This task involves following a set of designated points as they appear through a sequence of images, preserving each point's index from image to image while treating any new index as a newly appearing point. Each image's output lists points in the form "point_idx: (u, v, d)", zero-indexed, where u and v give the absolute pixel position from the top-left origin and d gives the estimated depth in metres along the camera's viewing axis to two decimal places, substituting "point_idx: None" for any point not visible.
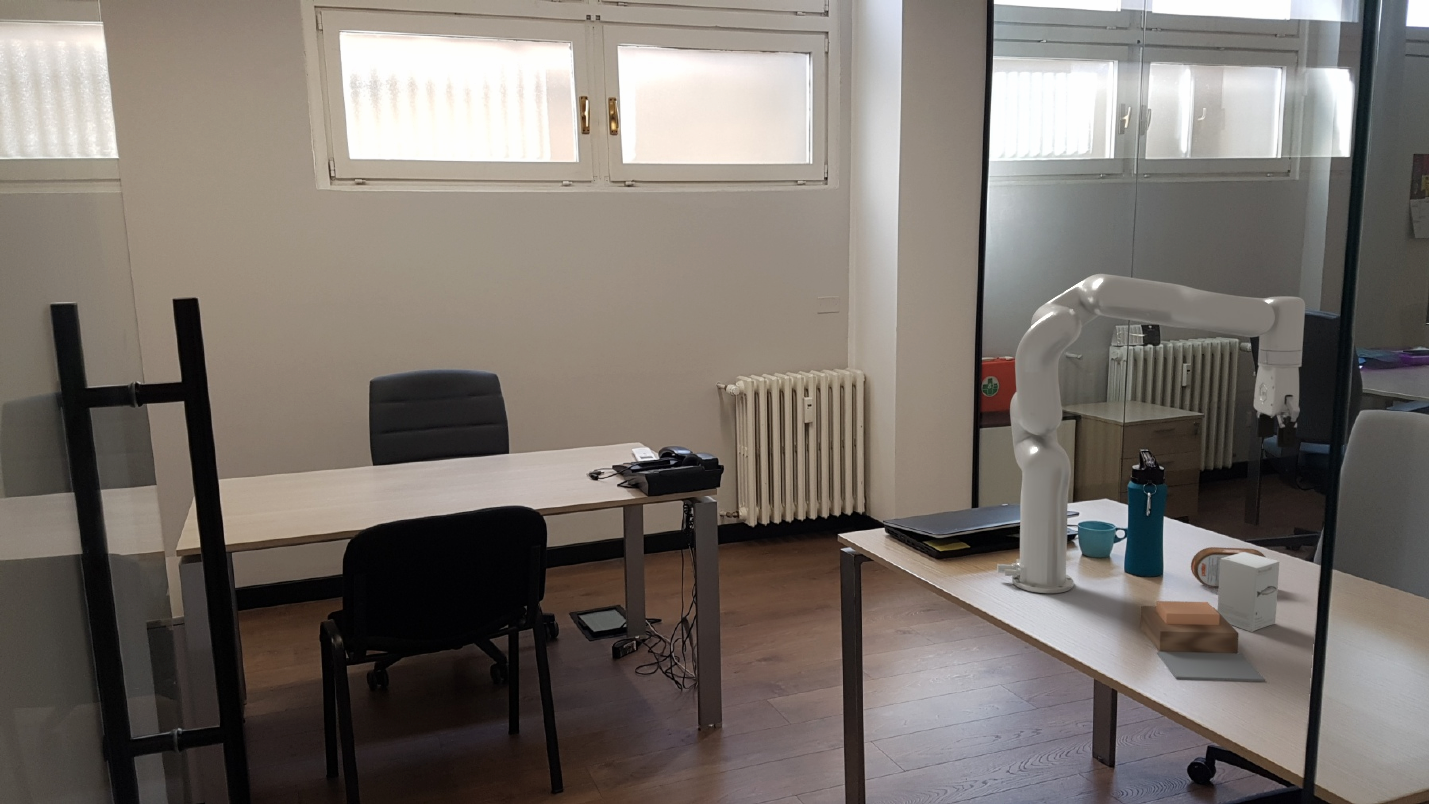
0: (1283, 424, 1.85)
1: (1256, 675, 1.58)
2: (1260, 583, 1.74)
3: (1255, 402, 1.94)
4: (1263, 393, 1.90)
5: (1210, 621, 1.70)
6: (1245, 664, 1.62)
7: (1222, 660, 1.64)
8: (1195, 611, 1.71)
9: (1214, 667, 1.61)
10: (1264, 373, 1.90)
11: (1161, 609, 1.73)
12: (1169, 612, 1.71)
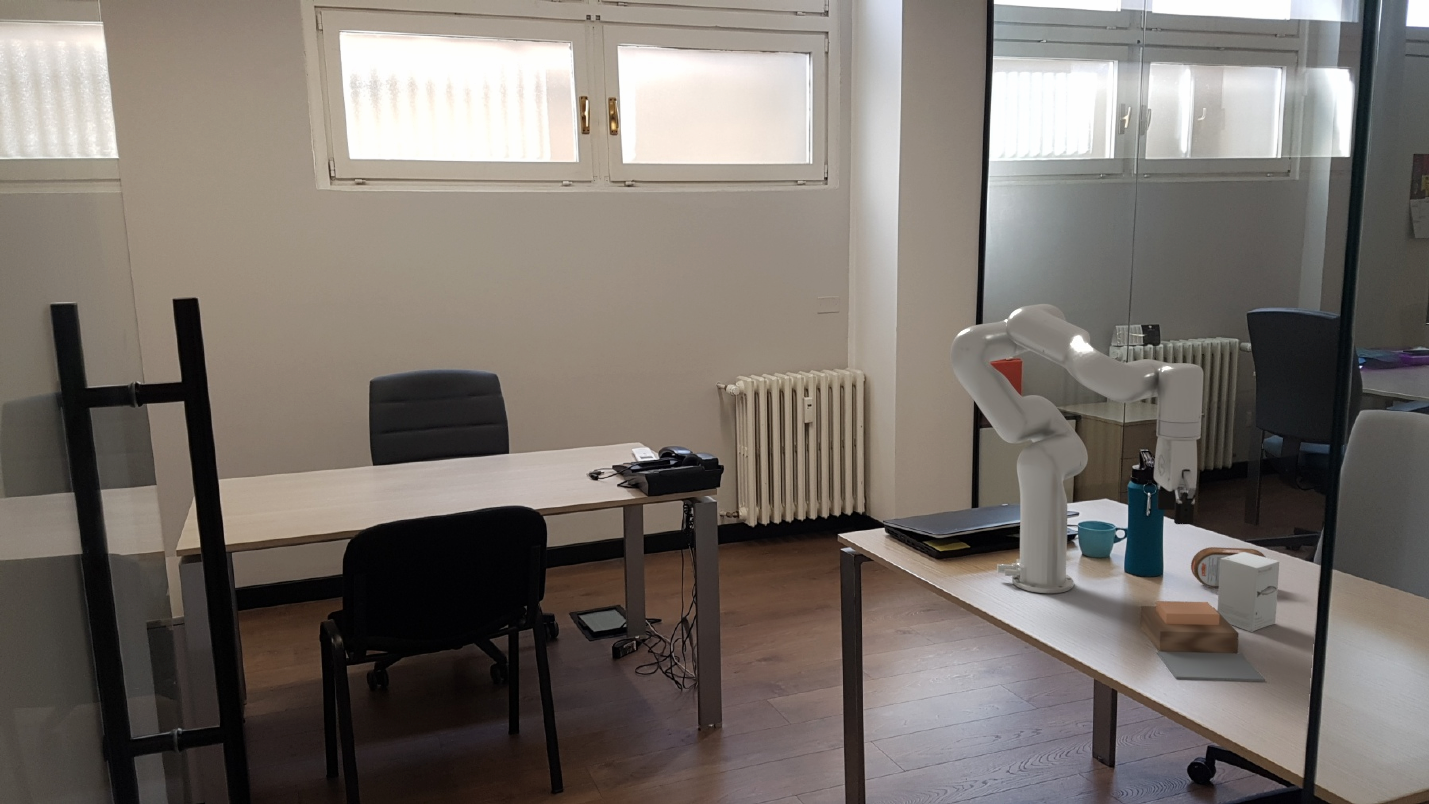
0: (1180, 500, 1.74)
1: (1256, 675, 1.58)
2: (1260, 583, 1.74)
3: (1155, 473, 1.83)
4: (1161, 465, 1.79)
5: (1210, 621, 1.70)
6: (1245, 664, 1.62)
7: (1222, 660, 1.64)
8: (1195, 611, 1.71)
9: (1214, 667, 1.61)
10: (1162, 445, 1.79)
11: (1161, 609, 1.73)
12: (1169, 612, 1.71)
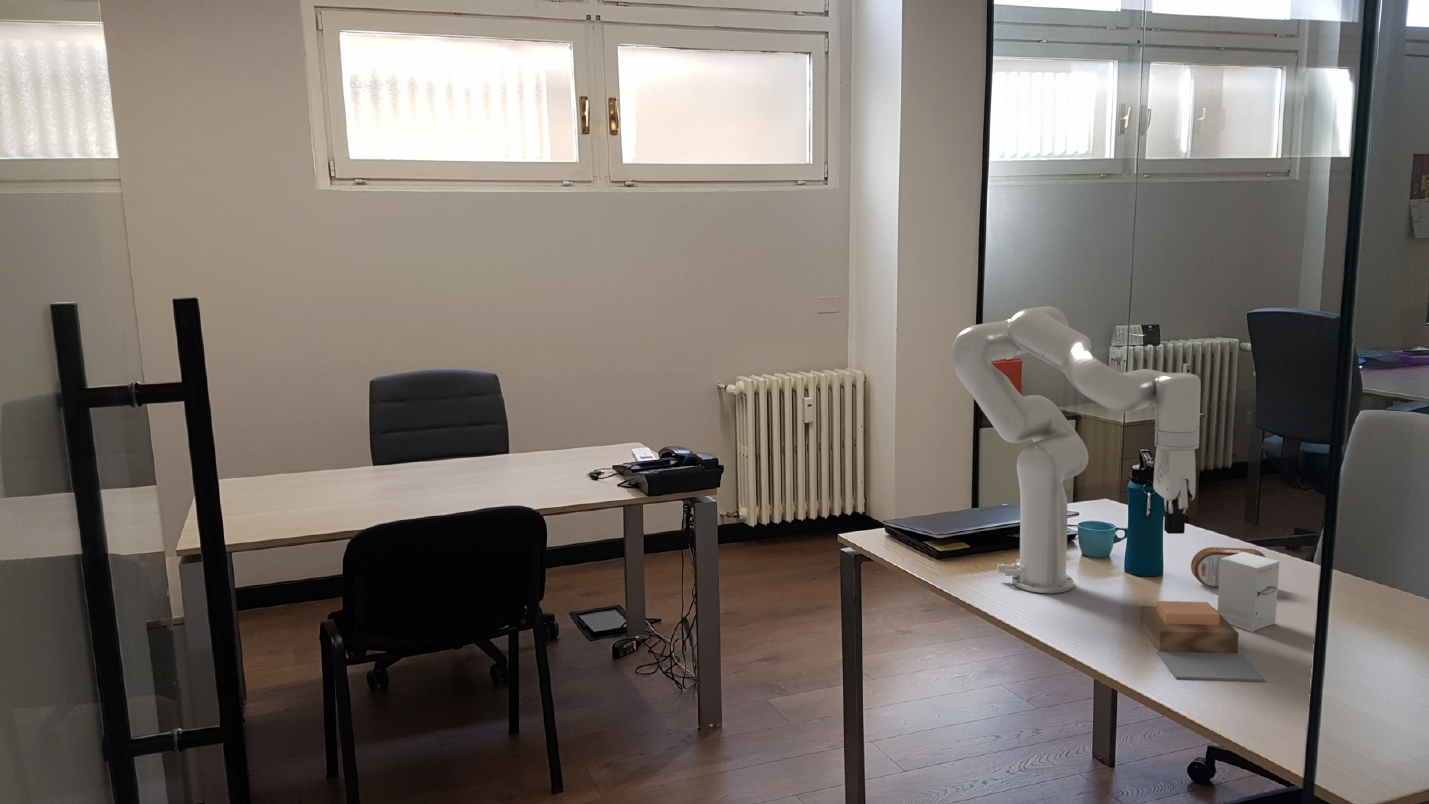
0: (1171, 513, 1.78)
1: (1256, 675, 1.58)
2: (1260, 583, 1.74)
3: (1154, 483, 1.83)
4: (1160, 475, 1.79)
5: (1210, 621, 1.70)
6: (1245, 664, 1.62)
7: (1222, 660, 1.64)
8: (1195, 611, 1.71)
9: (1214, 667, 1.61)
10: (1160, 454, 1.79)
11: (1161, 609, 1.73)
12: (1169, 612, 1.71)
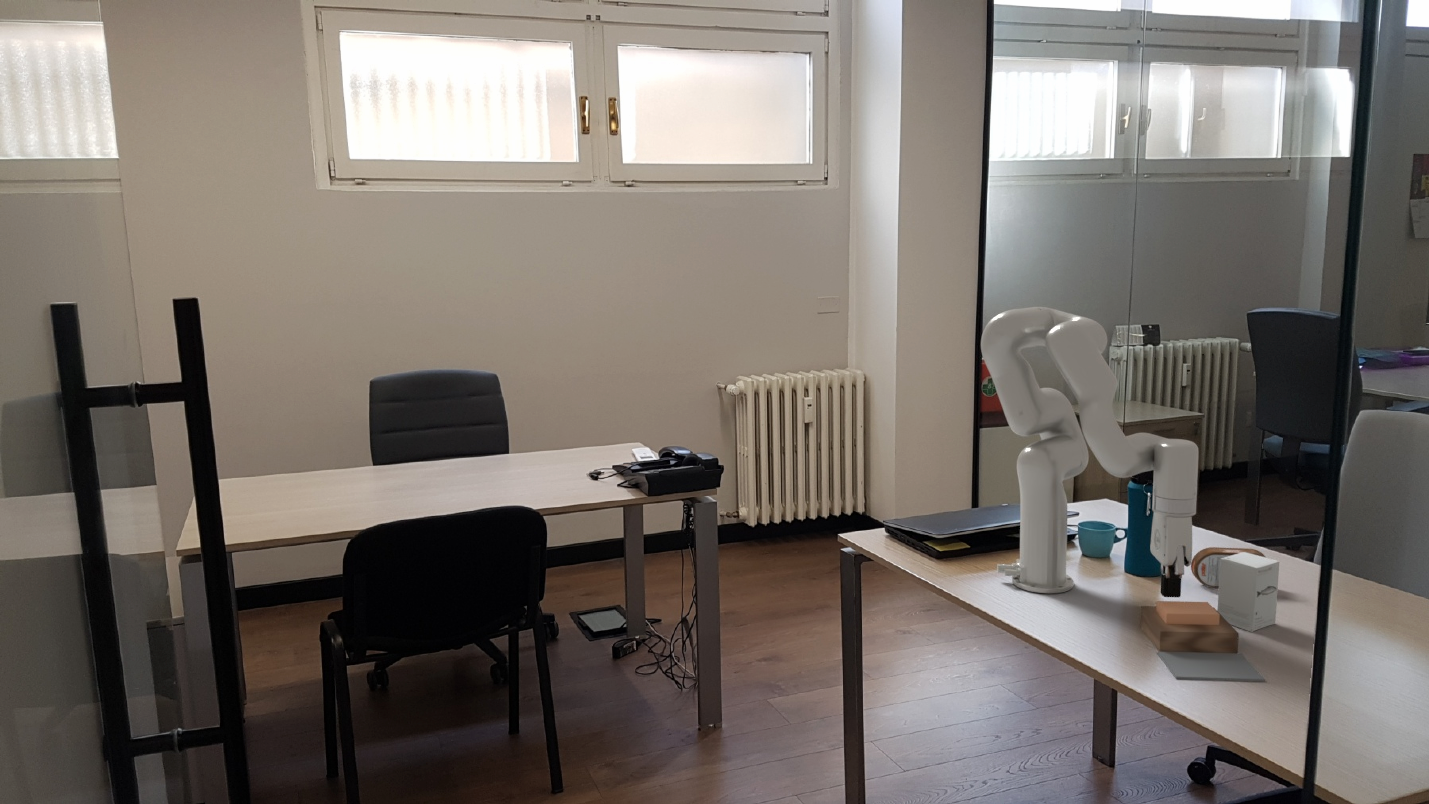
0: (1167, 577, 1.80)
1: (1256, 675, 1.58)
2: (1260, 583, 1.74)
3: (1151, 546, 1.85)
4: (1157, 540, 1.81)
5: (1210, 621, 1.70)
6: (1245, 664, 1.62)
7: (1222, 660, 1.64)
8: (1195, 611, 1.71)
9: (1214, 667, 1.61)
10: (1158, 519, 1.80)
11: (1161, 609, 1.73)
12: (1169, 612, 1.71)
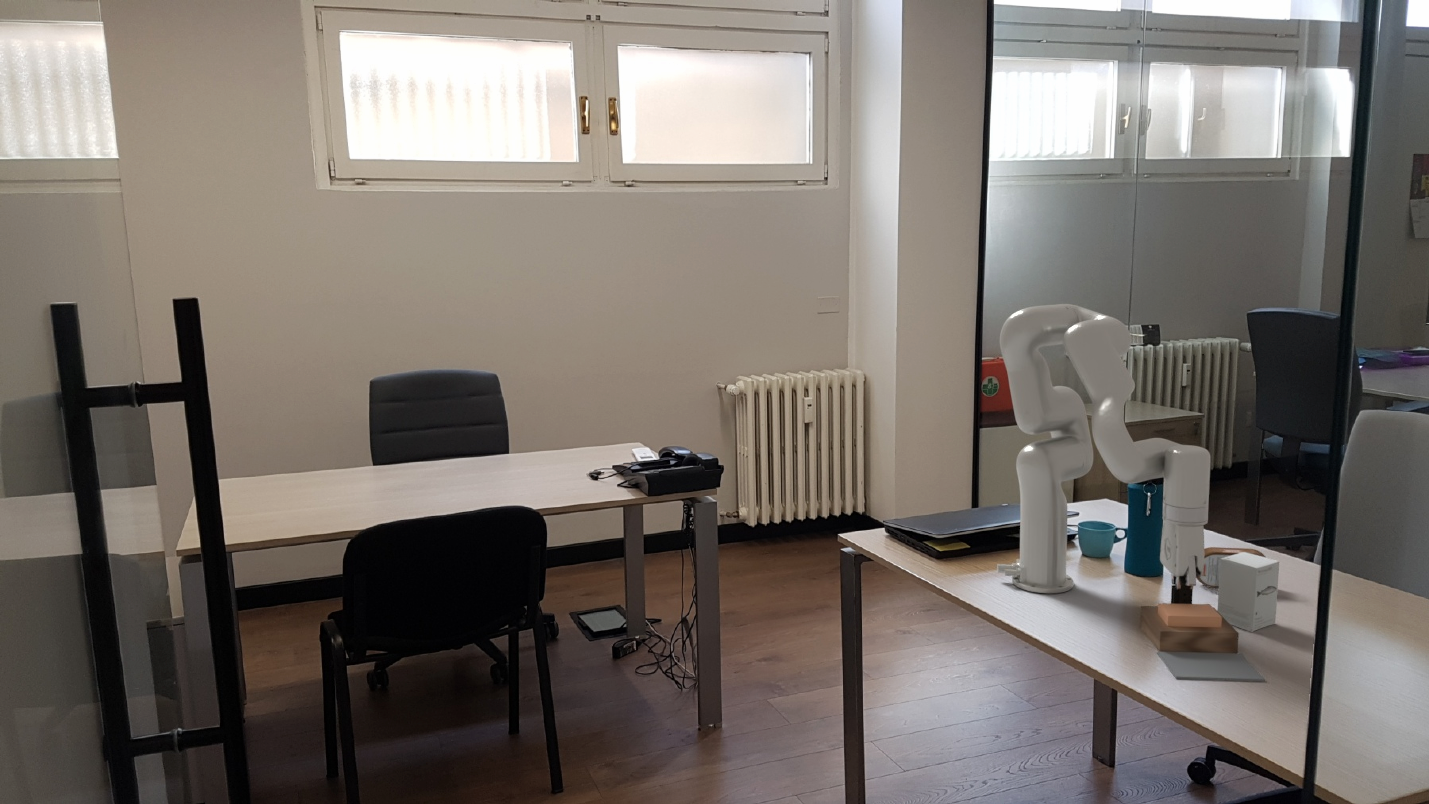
0: (1178, 588, 1.74)
1: (1256, 675, 1.58)
2: (1260, 583, 1.74)
3: (1161, 556, 1.79)
4: (1168, 549, 1.75)
5: (1212, 623, 1.69)
6: (1245, 664, 1.62)
7: (1222, 660, 1.64)
8: (1197, 613, 1.70)
9: (1214, 667, 1.61)
10: (1168, 528, 1.74)
11: (1163, 612, 1.72)
12: (1171, 614, 1.70)
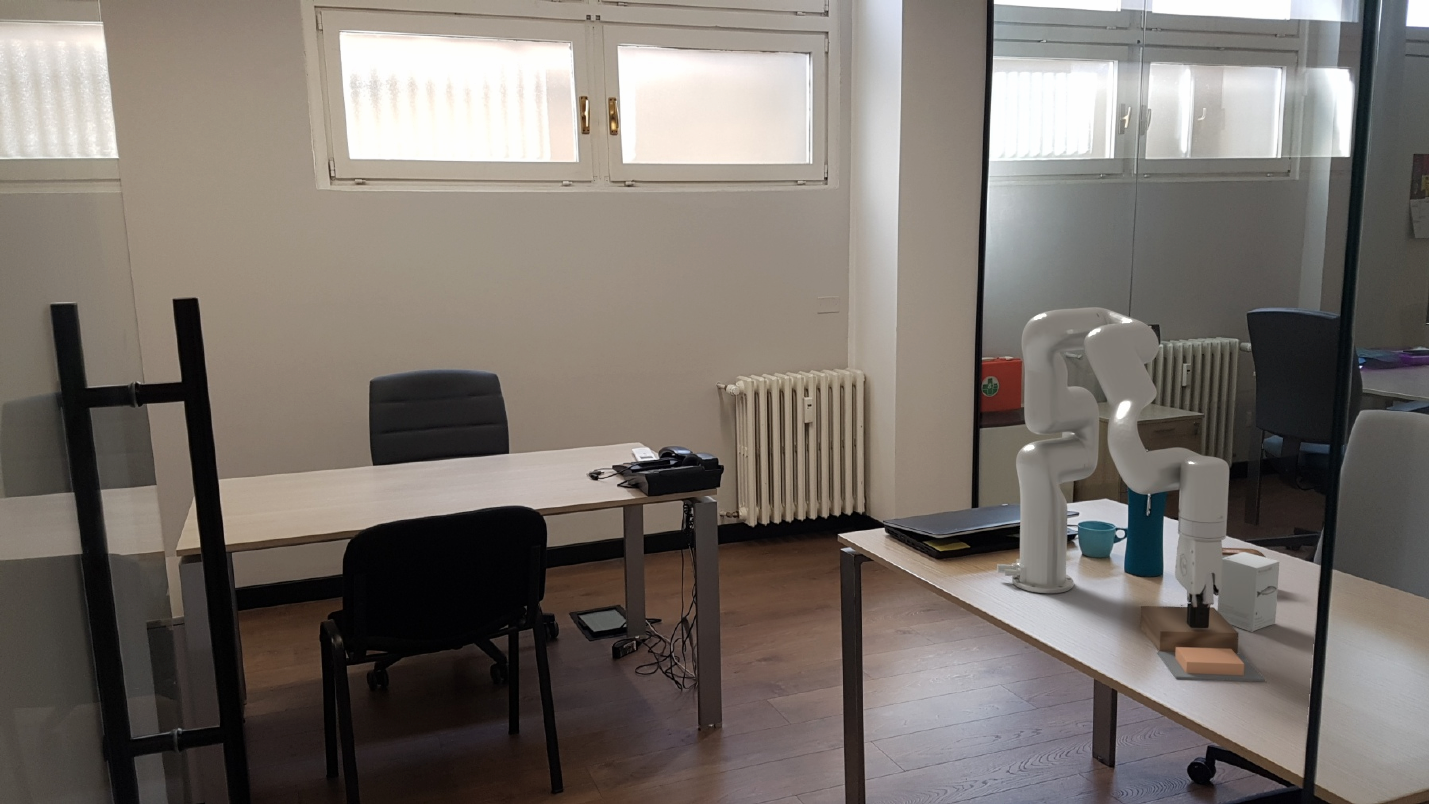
0: (1195, 606, 1.66)
1: (1256, 675, 1.58)
2: (1260, 583, 1.74)
3: (1176, 572, 1.70)
4: (1183, 565, 1.66)
5: None
6: (1245, 664, 1.62)
7: None
8: None
9: None
10: (1184, 543, 1.66)
11: (1180, 661, 1.62)
12: None
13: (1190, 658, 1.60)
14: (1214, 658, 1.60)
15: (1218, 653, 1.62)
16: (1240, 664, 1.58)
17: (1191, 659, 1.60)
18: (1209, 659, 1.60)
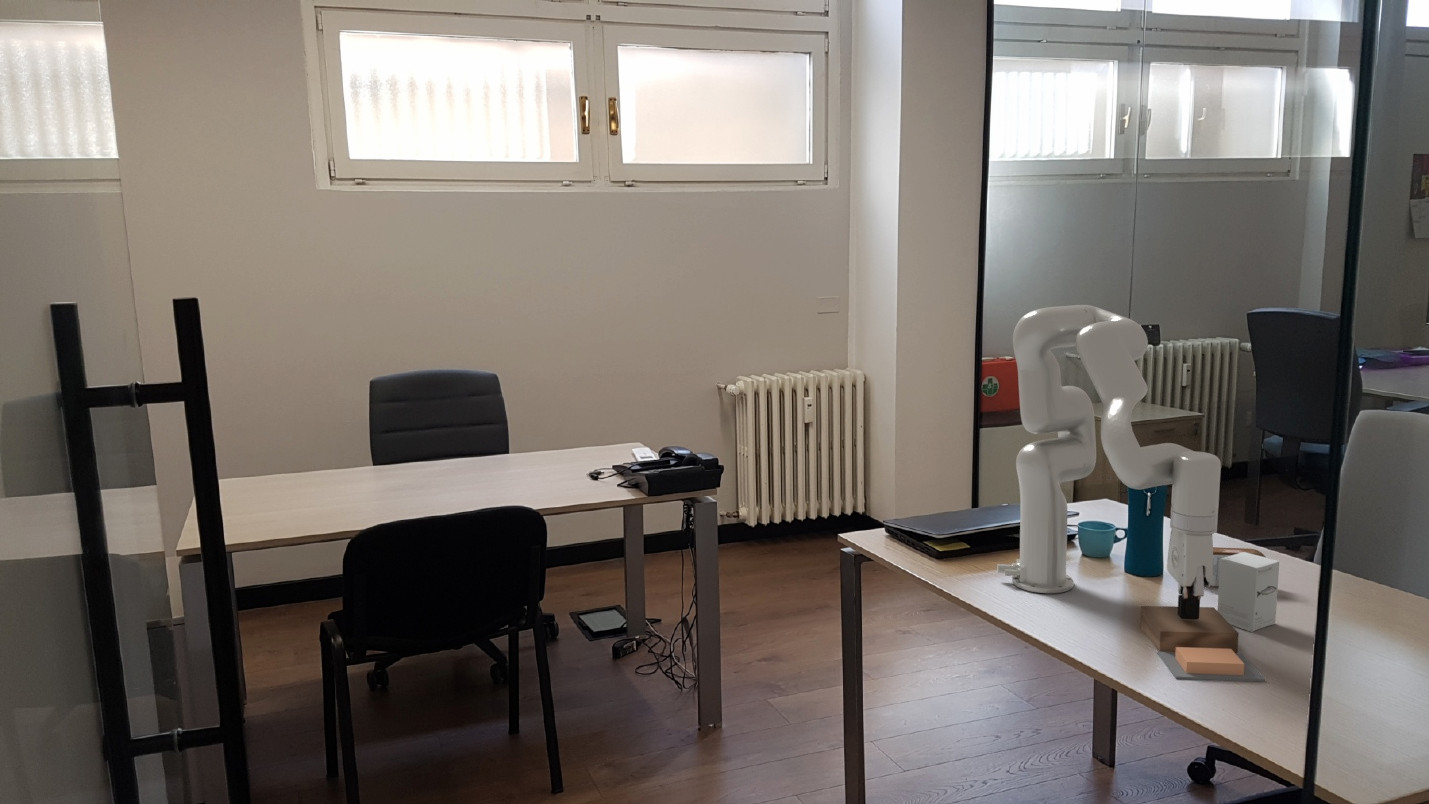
0: (1185, 598, 1.70)
1: (1256, 675, 1.58)
2: (1260, 583, 1.74)
3: (1168, 564, 1.74)
4: (1175, 558, 1.70)
5: None
6: (1245, 664, 1.62)
7: None
8: None
9: None
10: (1176, 537, 1.70)
11: (1180, 661, 1.62)
12: None
13: (1190, 658, 1.60)
14: (1214, 658, 1.60)
15: (1218, 653, 1.62)
16: (1240, 664, 1.58)
17: (1191, 659, 1.60)
18: (1209, 659, 1.60)
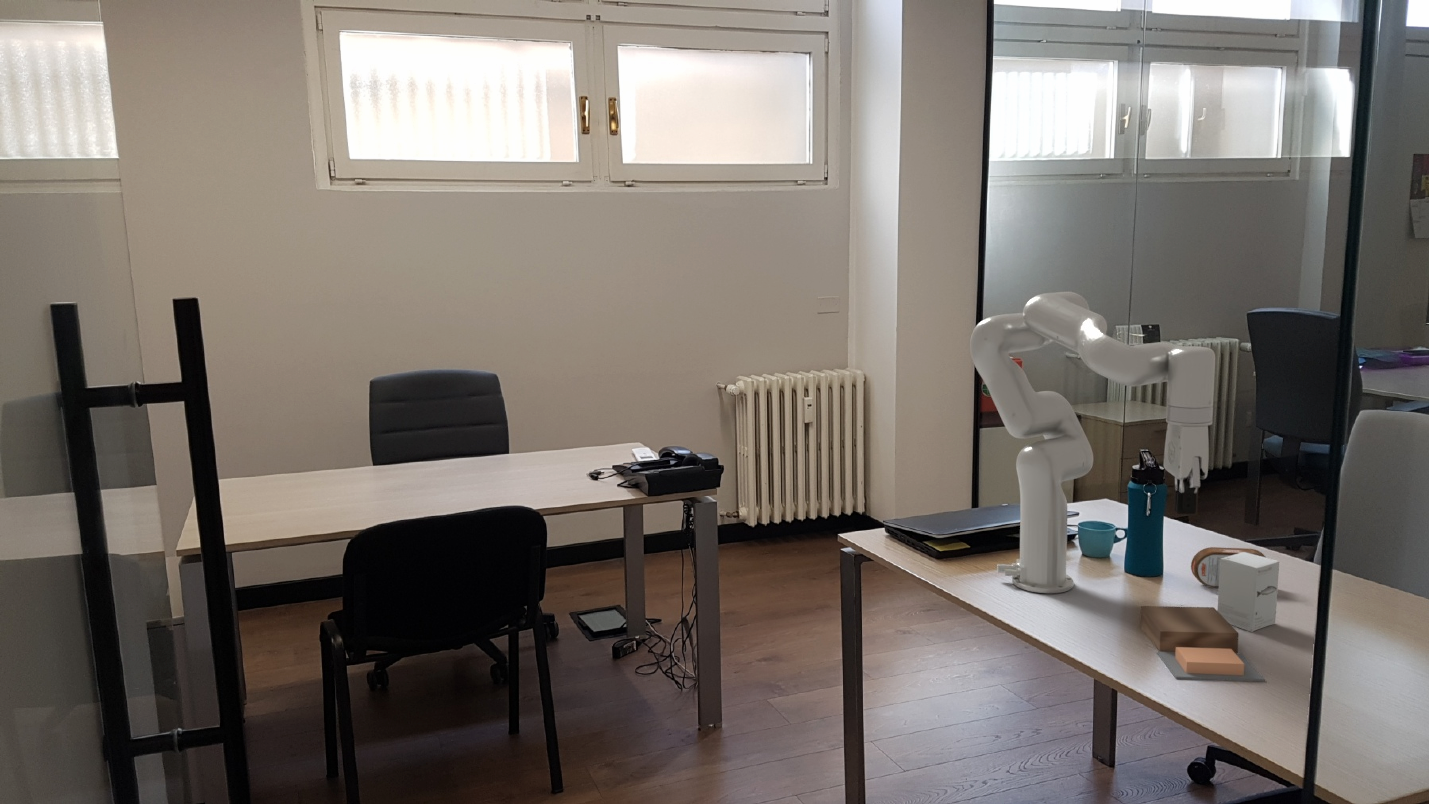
0: (1182, 492, 1.71)
1: (1256, 675, 1.58)
2: (1260, 583, 1.74)
3: (1165, 461, 1.76)
4: (1171, 453, 1.72)
5: None
6: (1245, 664, 1.62)
7: None
8: None
9: None
10: (1172, 431, 1.71)
11: (1180, 661, 1.62)
12: None
13: (1190, 658, 1.60)
14: (1214, 658, 1.60)
15: (1218, 653, 1.62)
16: (1240, 664, 1.58)
17: (1191, 659, 1.60)
18: (1209, 659, 1.60)
